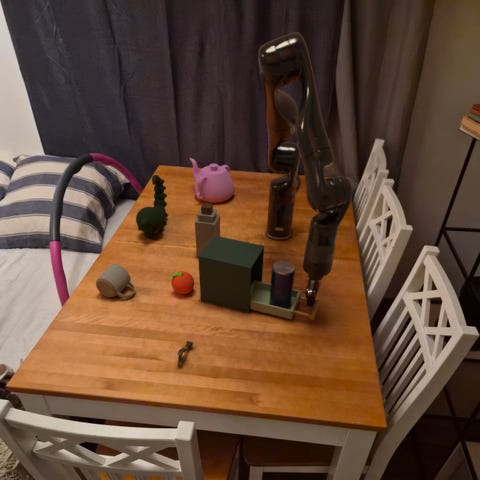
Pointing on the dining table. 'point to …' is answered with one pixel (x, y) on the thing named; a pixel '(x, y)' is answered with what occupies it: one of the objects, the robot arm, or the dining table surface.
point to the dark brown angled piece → (188, 345)
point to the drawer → (261, 303)
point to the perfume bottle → (206, 226)
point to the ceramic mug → (114, 281)
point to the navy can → (282, 284)
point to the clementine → (182, 282)
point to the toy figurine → (153, 211)
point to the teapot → (212, 182)
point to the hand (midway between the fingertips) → (310, 305)
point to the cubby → (229, 272)
